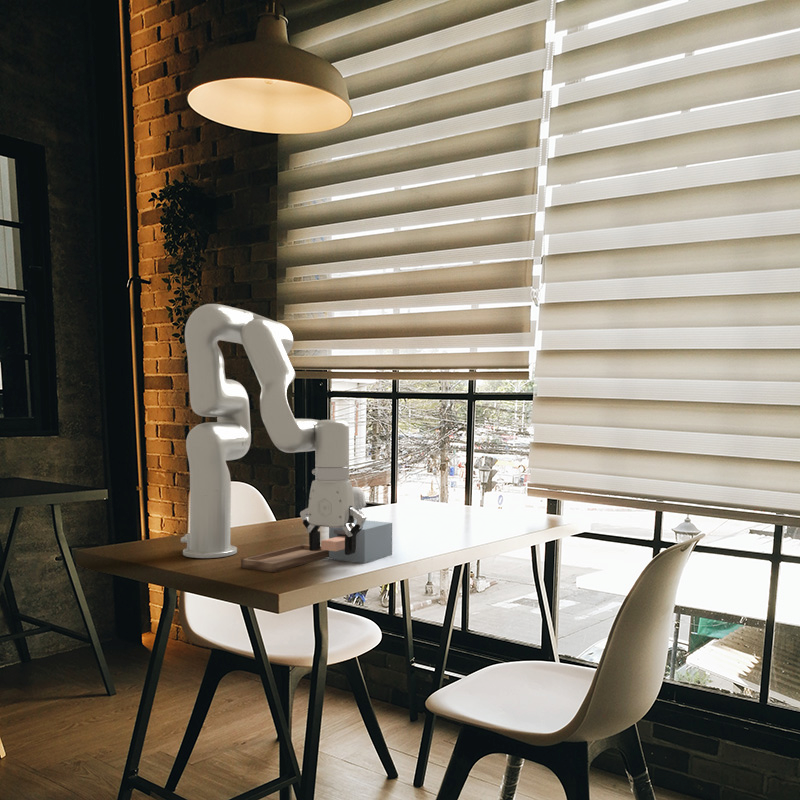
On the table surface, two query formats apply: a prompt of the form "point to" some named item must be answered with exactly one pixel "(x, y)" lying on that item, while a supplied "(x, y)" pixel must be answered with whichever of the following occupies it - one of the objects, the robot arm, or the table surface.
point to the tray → (284, 558)
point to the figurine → (359, 499)
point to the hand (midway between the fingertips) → (332, 551)
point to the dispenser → (366, 542)
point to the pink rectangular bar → (334, 543)
